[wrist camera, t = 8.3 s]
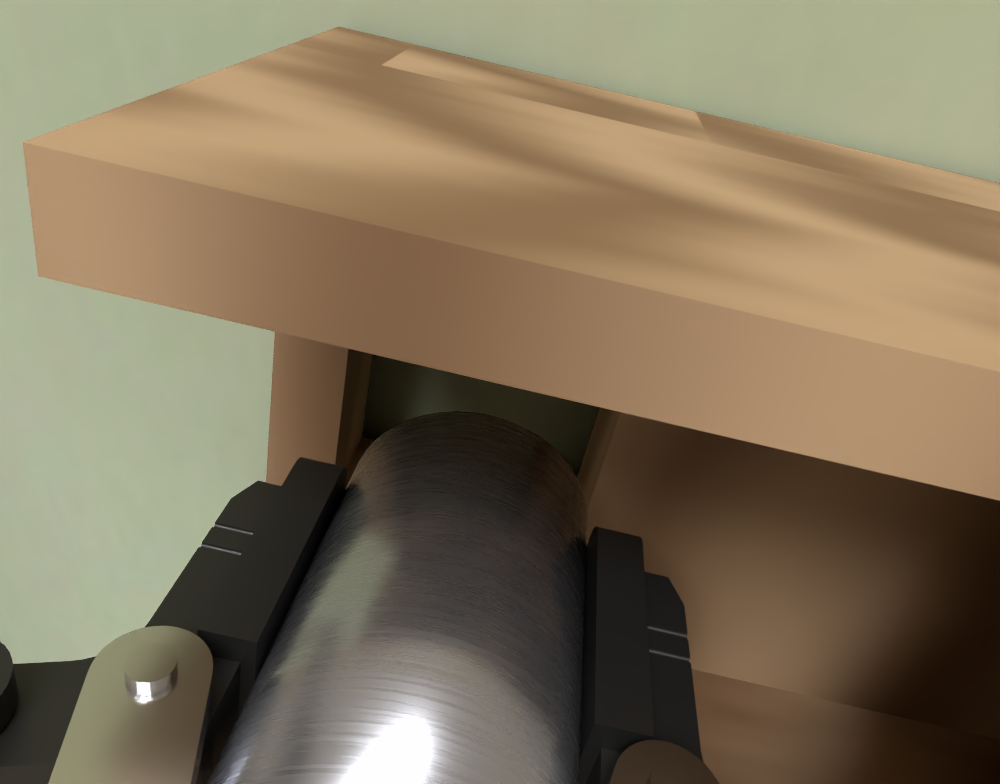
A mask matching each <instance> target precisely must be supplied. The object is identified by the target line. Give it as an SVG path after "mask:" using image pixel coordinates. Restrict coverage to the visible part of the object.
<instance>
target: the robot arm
mask: <svg viewBox="0 0 1000 784" xmlns="http://www.w3.org/2000/svg"><path fill="white" fill-rule="evenodd" d="M346 480H347V468H346V467H343V466H338V465H334V464H330V463H325V462H321V461H317V460H313V459H308V458H304V457H300V458H298V460H297V461H296V462H295V464H294V466H293V467H292V469H291V471H290V472H289V474H288V476H287V478H286V479H285V481H284V483H283V484H282V486H279V485H274V484H270V483H266V482H262V481H257V482H255V483H254V484H252V485H251V486H249V487H248V488H246V489H245V490H243V491H242V492H240V493H239V494H237V495H236V496H234V497H233V498H231V499H230V501H229V503H228V504H227V506H226V507H225V509H224V510H223V512H222V513H221V515H220V516H219V518H218V519H217V521H216V522H215V526H214V528H213V527H212V528H211V530H210V531H209V533H208V534H207V536H206V537H205V539H204V540H203V542H202V545H201V547H199V548H198V549H197V551H196V552H195V554H194V555H193V557H192V558H191V560H190V561H189V563H188V564H187V566H186V567H185V569H184V570H183V572H182V573H181V575H180V576H179V578H178V579H177V581H176V582H175V584H174V585H173V587H172V588H171V590H170V591H169V593H168V594H167V596H166V597H165V599H164V600H163V602H162V603H161V605H160V606H159V608H158V609H157V611H156V612H155V614H154V615H153V617H152V618H151V620H150V621H149V622H148V624H147V625H146V626H145V628H141V629H138V630H134V631H131V632H129V633H127V634H124V635H122V636H120V637H119V638H117V639H115V640H114V641H112V642H111V643H110V644H108V645H107V646H106V647H105V648H104V649H103V650H102V651H101V652H100V653H99V654H98V655H97V656H96V657H92V658H88V659H83V660H76V661H64V662H45V663H26V664H13V662H12V658H11V655H10V652H9V651H8V649H7V648H6V647H5V645H3V644H2V643H1V642H0V784H207V782H208V780H209V778H210V776H211V774H212V772H213V770H214V768H215V765H216V763H217V761H218V759H219V757H220V755H221V753H222V751H223V748H224V746H225V744H226V742H227V740H228V738H229V736H230V734H231V731H232V729H233V727H234V725H235V723H236V721H237V719H238V717H239V714H240V712H241V710H242V708H243V706H244V704H245V702H246V700H247V698H248V695H249V693H250V691H251V689H252V687H253V685H254V683H255V681H256V678H257V676H258V674H259V672H260V670H261V668H262V666H263V664H264V661H265V659H266V657H267V655H268V653H269V651H270V649H271V647H272V645H273V642H274V640H275V638H276V636H277V634H278V632H279V630H280V628H281V625H282V623H283V621H284V619H285V617H286V615H287V613H288V611H289V608H290V606H291V604H292V602H293V600H294V598H295V596H296V594H297V591H298V589H299V587H300V585H301V583H302V581H303V579H304V577H305V575H306V572H307V570H308V568H309V566H310V564H311V562H312V560H313V558H314V555H315V553H316V551H317V549H318V547H319V545H320V543H321V541H322V538H323V536H324V534H325V532H326V530H327V528H328V526H329V524H330V521H331V519H332V517H333V515H334V513H335V511H336V509H337V507H338V505H339V502H340V500H341V498H342V496H343V494H344V492H345V489H346ZM687 634H688V633H687V624H686V615H685V607H684V604H683V602H682V600H681V598H680V597H679V595H678V593H677V591H676V590H675V588H674V586H673V584H672V583H671V581H670V579H669V578H668V577H665V576H661V575H657V574H653V573H648V572H645V571H644V554H643V541H642V538H641V537H640V536H635V535H631V534H627V533H622V532H618V531H614V530H610V529H605V528H601V527H597V526H596V527H594V529H593V530H592V533H591V535H590V538H589V541H588V544H587V551H586V580H585V610H584V640H583V669H582V699H581V729H580V758H579V784H719V782H718V781H717V779H716V778H715V776H714V774H713V773H712V772H711V771H710V769H709V768H708V767H707V766H706V765H705V764H704V762H703V758H702V753H701V746H700V737H699V728H698V720H697V711H696V702H695V694H694V685H693V676H692V668H691V663H689V660H690V650H689V641H688V639H687Z"/></svg>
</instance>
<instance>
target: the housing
mask: <svg viewBox="0 0 1000 784" xmlns="http://www.w3.org/2000/svg"><path fill="white" fill-rule="evenodd" d="M23 147H24V155H25V164H26V173H27V182H28V190H29V199H30V208H31V216H32V225H33V234H34V242H35V251H36V260H37V269H38V276H40V277H44V278H48V279H53V280H57V281H61V282H66V283H70V284H74V285H78V286H83V287H87V288H91V289H96V290H100V291H104V292H108V293H113V294H117V295H121V296H126V297H130V298H134V299H138V300H143V301H147V302H151V303H156V304H160V305H164V306H168V307H173V308H177V309H181V310H185V311H190V312H194V313H198V314H203V315H207V316H211V317H215V318H220V319H224V320H228V321H233V322H237V323H241V324H245V325H250V326H254V327H258V328H263V329H267V330H271V331H275V340H274V357H273V374H272V391H271V408H270V425H269V442H268V459H267V476H266V483H270V484H274V485H279V486H282V484H283V483H284V481H285V479H286V478H287V476H288V474H289V472H290V471H291V469H292V467H293V466H294V464H295V462H296V461H297V460H298V458H300V457H304V458H308V459H313V460H317V461H321V462H325V463H330V464H334V465H338V466H343V467H346V468H347V480H346V488H347V485H348V483H349V481H350V479H351V477H352V475H353V473H354V471H355V468H356V466H357V464H358V462H359V461H360V459H361V457H362V456H363V454H364V452H365V451H366V450H367V449H368V448H369V446H370V445H371V444H372V443H373V442H374V441H375V440H371V439H367V438H363V437H362V431H363V424H364V416H365V409H366V401H367V394H368V387H369V379H370V372H371V364H372V357H373V354H374V355H378V356H382V357H387V358H391V359H395V360H400V361H404V362H408V363H412V364H417V365H421V366H425V367H430V368H434V369H438V370H442V371H447V372H451V373H455V374H460V375H464V376H468V377H472V378H477V379H481V380H485V381H489V382H494V383H498V384H502V385H507V386H511V387H515V388H519V389H524V390H528V391H532V392H537V393H541V394H545V395H549V396H554V397H558V398H562V399H567V400H571V401H575V402H579V403H584V404H588V405H592V406H597V407H600V408H599V411H598V414H597V418H596V421H595V424H594V427H593V430H592V433H591V436H590V439H589V442H588V446H587V449H586V452H585V455H584V458H583V461H582V464H581V467H580V470H579V473H578V477H577V478H578V480H579V483H580V485H581V487H582V489H583V492H584V496H585V500H586V504H587V515H588V521H587V544H588V541H589V538H590V535H591V533H592V530H593V529H594V527H596V526H597V527H601V528H605V529H610V530H614V531H618V532H622V533H627V534H631V535H635V536H640V537H641V538H642V541H643V554H644V571H645V572H648V573H653V574H657V575H661V576H665V577H668V578H669V579H670V581H671V583H672V584H673V586H674V588H675V590H676V591H677V593H678V595H679V597H680V598H681V600H682V602H683V604H684V607H685V615H686V624H687V633H688V634H687V639H688V641H689V650H690V660H689V663H691V668H692V676H693V685H694V694H695V702H696V711H697V720H698V728H699V737H700V746H701V753H702V758H703V762H704V764H705V765H706V766H707V767H708V768H709V769H710V771H711V772H712V773H713V774H714V776H715V778H716V779H717V781H718V782H719V784H1000V184H999V183H995V182H991V181H987V180H983V179H978V178H974V177H970V176H966V175H961V174H957V173H953V172H949V171H945V170H940V169H936V168H932V167H928V166H924V165H919V164H915V163H911V162H907V161H903V160H898V159H894V158H890V157H886V156H881V155H877V154H873V153H869V152H865V151H860V150H856V149H852V148H848V147H844V146H839V145H835V144H831V143H827V142H822V141H818V140H814V139H810V138H806V137H801V136H797V135H793V134H789V133H785V132H780V131H776V130H772V129H768V128H763V127H759V126H755V125H751V124H747V123H742V122H738V121H734V120H730V119H726V118H721V117H717V116H713V115H709V114H704V113H700V112H696V111H692V110H688V109H683V108H679V107H675V106H671V105H667V104H662V103H658V102H654V101H650V100H645V99H641V98H637V97H633V96H629V95H624V94H620V93H616V92H612V91H608V90H603V89H599V88H595V87H591V86H586V85H582V84H578V83H574V82H570V81H565V80H561V79H557V78H553V77H549V76H544V75H540V74H536V73H532V72H527V71H523V70H519V69H515V68H511V67H506V66H502V65H498V64H494V63H490V62H485V61H481V60H477V59H473V58H468V57H464V56H460V55H456V54H452V53H447V52H443V51H439V50H435V49H431V48H426V47H422V46H418V45H414V44H410V43H405V42H401V41H397V40H393V39H388V38H384V37H380V36H376V35H372V34H367V33H363V32H359V31H355V30H351V29H346V28H342V27H337V28H334V29H331V30H328V31H326V32H323V33H320V34H317V35H315V36H312V37H309V38H306V39H304V40H301V41H298V42H296V43H293V44H290V45H287V46H285V47H282V48H279V49H276V50H274V51H271V52H268V53H266V54H263V55H260V56H257V57H255V58H252V59H249V60H246V61H244V62H241V63H238V64H235V65H233V66H230V67H227V68H225V69H222V70H219V71H216V72H214V73H211V74H208V75H205V76H203V77H200V78H197V79H194V80H192V81H189V82H186V83H184V84H181V85H178V86H175V87H173V88H170V89H167V90H164V91H162V92H159V93H156V94H154V95H151V96H148V97H145V98H143V99H140V100H137V101H134V102H132V103H129V104H126V105H123V106H121V107H118V108H115V109H113V110H110V111H107V112H104V113H102V114H99V115H96V116H93V117H91V118H88V119H85V120H82V121H80V122H77V123H74V124H72V125H69V126H66V127H63V128H61V129H58V130H55V131H52V132H50V133H47V134H44V135H42V136H39V137H36V138H33V139H31V140H28V141H25V142H23ZM345 490H346V489H345Z"/></svg>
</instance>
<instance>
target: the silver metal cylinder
mask: <svg viewBox="0 0 1000 784" xmlns="http://www.w3.org/2000/svg"><path fill="white" fill-rule="evenodd" d="M587 521H588V515H587V504H586V500H585V496H584V492H583V489H582V487H581V485H580V483H579V480H578V478H577V476H576V475H575V473H574V472H573V470H572V468H571V467H570V465H569V464H568V463H567V462H566V461H565V459H564V458H563V457H562V456H561V455H560V454H559V453H558V452H557V451H556V450H555V449H554V448H553V447H552V446H551V445H550V444H548V443H547V442H546V441H544V440H543V439H541V438H540V437H539V436H537V435H536V434H534V433H532V432H530V431H529V430H527V429H525V428H523V427H521V426H519V425H516V424H514V423H512V422H509V421H507V420H504V419H500V418H497V417H493V416H490V415H485V414H479V413H473V412H457V411H455V412H439V413H433V414H427V415H422V416H419V417H416V418H412V419H409V420H407V421H405V422H403V423H400V424H398V425H396V426H394V427H393V428H391V429H389V430H388V431H386V432H385V433H383V434H382V435H381V436H380V437H379V438H377V439H376V440H375V441H374V442H373V443H372V444H371V445H370V446H369V448H368V449H367V450H366V451H365V452H364V454H363V456H362V457H361V459H360V461H359V462H358V464H357V466H356V468H355V471H354V473H353V475H352V477H351V479H350V481H349V483H348V485H347V488H346V490H345V492H344V494H343V496H342V498H341V500H340V502H339V505H338V507H337V509H336V511H335V513H334V515H333V517H332V519H331V521H330V524H329V526H328V528H327V530H326V532H325V534H324V536H323V538H322V541H321V543H320V545H319V547H318V549H317V551H316V553H315V555H314V558H313V560H312V562H311V564H310V566H309V568H308V570H307V572H306V575H305V577H304V579H303V581H302V583H301V585H300V587H299V589H298V591H297V594H296V596H295V598H294V600H293V602H292V604H291V606H290V608H289V611H288V613H287V615H286V617H285V619H284V621H283V623H282V625H281V628H280V630H279V632H278V634H277V636H276V638H275V640H274V642H273V645H272V647H271V649H270V651H269V653H268V655H267V657H266V659H265V661H264V664H263V666H262V668H261V670H260V672H259V674H258V676H257V678H256V681H255V683H254V685H253V687H252V689H251V691H250V693H249V695H248V698H247V700H246V702H245V704H244V706H243V708H242V710H241V712H240V714H239V717H238V719H237V721H236V723H235V725H234V727H233V729H232V731H231V734H230V736H229V738H228V740H227V742H226V744H225V746H224V748H223V751H222V753H221V755H220V757H219V759H218V761H217V763H216V765H215V768H214V770H213V772H212V774H211V776H210V778H209V780H208V782H207V784H579V758H580V729H581V699H582V669H583V640H584V610H585V580H586V551H587Z"/></svg>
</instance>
